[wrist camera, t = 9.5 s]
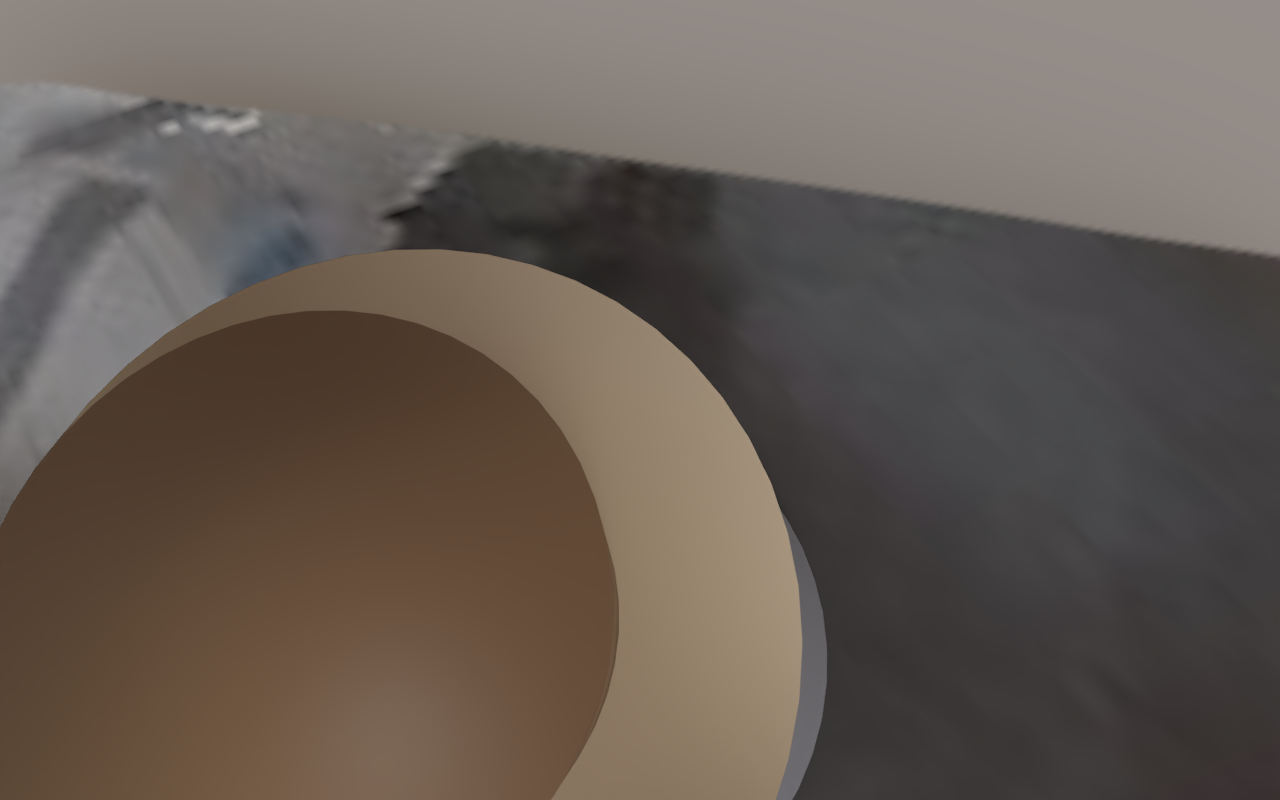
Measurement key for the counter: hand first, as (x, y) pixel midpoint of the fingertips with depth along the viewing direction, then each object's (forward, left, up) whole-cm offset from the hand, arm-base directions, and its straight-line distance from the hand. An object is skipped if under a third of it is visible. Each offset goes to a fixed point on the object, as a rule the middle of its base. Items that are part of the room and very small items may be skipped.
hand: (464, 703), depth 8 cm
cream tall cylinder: (0, 0, -9) cm, 9 cm away
